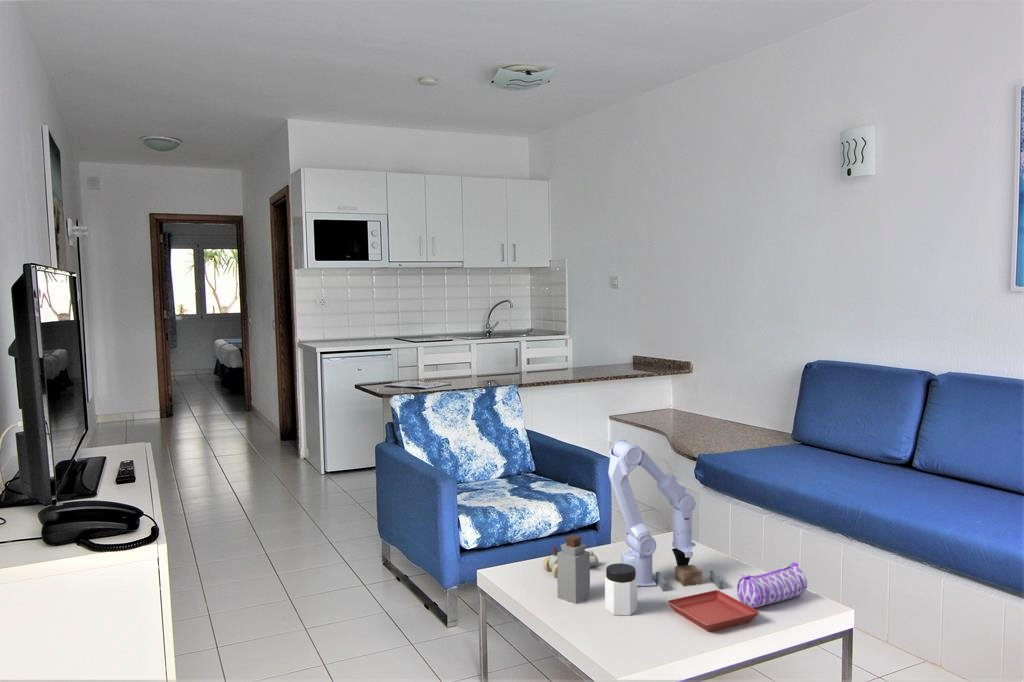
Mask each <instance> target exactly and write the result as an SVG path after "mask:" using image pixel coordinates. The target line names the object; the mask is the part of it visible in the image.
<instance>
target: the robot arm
mask: <svg viewBox="0 0 1024 682" xmlns="http://www.w3.org/2000/svg"><path fill="white" fill-rule="evenodd" d="M608 452H609V457H610V458H609V465H608V477H609V481H610V483H611V486H612V489H613V492H614V495H615V498H616V501H617V503H618V506H619V509H620V512H621V515H622V518H623V520H624V524H625V526H624V528H623V530H624V532H625V533H624V534H625V537H624V540H625V541H624V542H625V543H626V545H627V546H628V552H626V553H622V554H621V556H620V563H621V564H628V565H631V566H633V567H634V568H635V572H636V576H635V577H636V578H637V587H652V586H654V587H656V586H657V582H655V581H656V580H654V578H653V555H654V553H655V552H656V549H657V542H656V540H655V538H654V537H653V536H652V535H651V533H650V532H649V529H648V528H647V526H646V525H645V523H644V521H643V518H642V516H641V513H640V509H639V506H638V504H637V502H636V497H635V496H634V492H633V490H632V487H631V483H630V480H629V478H628V476H629V475H630V474H631V472H633V470H634V469H635V468H636V467H637V466H639V467H642V468H643V469H644V471H646V472H647V473H648V474H649V475H650V476H651V477H652V478H653V479H654V480H655V481H656V488H657V489H658V490H659V491H660V492H661V493H662V495H664V497H665V498H666V499H667V501H668V502H669V504H670V506H672V547H673V548H672V549H671V551H672V552H673V556H674V558H675V560H676V566H684V565H689V563H690V560H691V558H693V555H694V554H693V547H696V542H694V541H693V540H692V535H693V534H692V533H693V530H692V529H693V526H692V525H693V511H694V509H695V507H696V506H697V505H696V502H695V499H694V496H693V495H691V494H689V493H688V492H686V487H684V486H682V485H681V484H680V483H679V482H678V481H677V480H678V478H677V477H676V476H674V475H671V474H668V473H666V474H665V473H664V472H663V470H661V468H660V467H659V466H658V465H657V464H656V463H655V461H654V460H653V459H652V457H650V455H649V454H648V453H647V451H645V450H643V449H642V448H641V447H640V446H639V445H637V444H634V443H631V442H629V441H627V440H626V439H617V440H616V441H615V442H614V443H613V444H612V446H611V448H610V450H609V451H608Z"/></svg>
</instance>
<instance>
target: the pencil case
mask: <svg viewBox="0 0 1024 682" xmlns="http://www.w3.org/2000/svg"><path fill="white" fill-rule="evenodd" d="M739 576H740V577H741V578H739V580H738V581H737V585H736V590H737V591H736V592H737V596H738V599H739V600H738V601H740V602H742V603H744V604H746V605H748V606H750V607H752V608H754V609H755V608H759V607H762V606H766V605H771V604H775V603H779V602H782V601H786V600H789V599H792V598H796V597H799V596H801V595H804V594H805V593H806V591H807V588H808V579H807V577H806V575H805V574H804V572H803V571H802V570H801V568H799V563H798V562H795V561H792V562H791V563H789V564H788V565H785V566H783V567H781V568H778V569H776V570H775V569H774V570H771V571H769V572H764V573H762V574H761V573H760V574H757V575H750V574H748V575H745V574H744V575H743V574H740V575H739Z"/></svg>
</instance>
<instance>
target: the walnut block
mask: <svg viewBox="0 0 1024 682" xmlns="http://www.w3.org/2000/svg"><path fill="white" fill-rule="evenodd" d="M702 577H703V571H702V570H701V569H700V568H698V567H697V566H696V565H695V564H688V565H684V566H677V565H676V566H674V579H675V580H676V581H677V582H678V581H679V582H680V583H681V584H680V583H679V582H678V583H679V584H680V585H682V586H683V587H688V586H687V585H690V586H697V585H696V584H699V585H703V578H702Z"/></svg>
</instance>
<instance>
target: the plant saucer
mask: <svg viewBox="0 0 1024 682" xmlns="http://www.w3.org/2000/svg"><path fill="white" fill-rule="evenodd" d="M666 602H667V604H668V605H669V607H670V608H671V609H672V611H674V612H675V613H677V615H679V616H681V617H683V618H684V619H686V620H687V621H689V622H691V623H692V624H694V625H696V626H697V627H699V628H701V629H703V630H704V631H706V632H713V631H714V632H715V631H717V630H721V629H724V628H725V629H726V628H729V627H733V626H737V625H742V624H746V623H749V622H750V621H752V620H754V619H755V618H756V617H757V616H758V615H759V614H760V611H759V610H758V609H755V608H752V607H750V606H748V605H746V604H744V603H742V602H741V601H740V600H738V599H736V598H734V597H732V596H730V595H728V594H726V593H725V592H723V591H721V590H720V589H718V590H717V589H713V590H710V591H705V592H701V593H696V594H691V595H687V596H682V597H677V598H673V599H670V600H667V601H666Z"/></svg>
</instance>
